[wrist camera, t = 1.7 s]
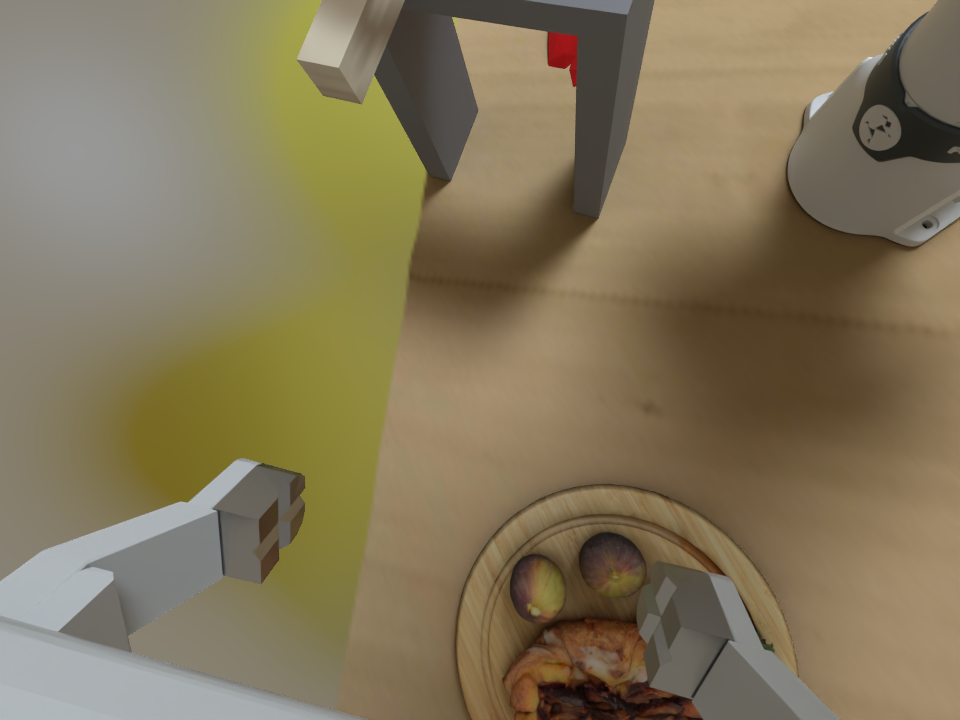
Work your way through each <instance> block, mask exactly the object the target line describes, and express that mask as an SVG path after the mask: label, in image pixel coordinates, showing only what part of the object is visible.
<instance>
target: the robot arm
mask: <svg viewBox="0 0 960 720" xmlns="http://www.w3.org/2000/svg"><path fill="white" fill-rule="evenodd" d="M788 180H789V184H790V187H791V190H792V192H793V194H794V196H795V198H796V200H797V201H798V203H799V204H800V205H801V207H802V208H803V209H804V210H805V211H806V212H807V213H808V214H809V215H811V216H812V217H813V218H815V219H816V220H818V221H819V222H821V223H823V224H824V225H826V226H829V227H831V228H833V229H836V230H839V231H843V232H847V233H852V234H861V235H875V236H882V237H885V238H887V239H889V240H892V241H894V242H896V243H899V244H902V245H905V246H911V247H913V246H918V245H921V244H922V243H924V242H925V241H927V240H928V239H930V238H931V237H932V236H934V235H935V234H937V233H938V232H939V231H941V230H942V229H944V228H945V227H946V226H948V225H949V224H951V223H952V222H954V221H955V220H956V219H958V218H959V217H960V0H938V1H937V2H936V4H935V5H934V6H933V7H932V9H931V10H930V11H928V12H927V13H925V14H924V15H922V16H921V17H919V18H918V19H917V20H916V21H915V22H913V23H912V24H911V25H910V26H909V27H908V28H907V30H905V31H904V32H903V33H902V34H901V35H900V36H898V37H897V39H896V40H895V41H894V42H893V43H892V44H891V45H890V46H889V48H888V49H887V50H886V51H885V53H883V54H880V55H878V56H875V57H873V58H872V57H868V58H867V59H865V60H864V61H862V62H861V63H860V64H859V65H858V66H857V67H856V68H855V70H854V71H853V72H852V73H851V74H850V75H849V76H848V77H847V78H846V79H845V80H844V81H843V83H842V84H841V85H840V86H839V87H838V88H837V89H836V90H835V91H832V92H829V93H826V94H823V95H820V96H817V97H816V98H814V99H813V100H812V101H811V102H810V103H809V104H808V106H807V107H806V110H805V115H804V128H803V131H802V133H801V135H800V136H799V138H798V140H797V141H796V143H795V145H794V147H793V149H792V151H791V154H790V157H789V162H788ZM922 224H925V225H926V226H927V229H926V228H924V227H923V226H922ZM304 489H305V476H303V475H302V474H301V473H297V472H293V471H289V470H286V469H282V468H278V467H275V466H271V465H267V464H264V463H262V464H261V463H258V462H254V461H251V460H247V459H244V458H242V459H238V460H236V461H234V462H233V463H232V464H231V465H230V466H229V467H228V468H226V469H225V470H224V471H223V472H222V473H221V474H220V475H218V476H217V477H216V478H215V479H214V480H213V481H212V482H211V483H210V484H208V485H207V486H206V487H205V488H204V489H203V490H202V491H201V492H199V493H198V494H197V495H196V496H195V497H194V498H193V499H192V500H190V501H189V502H188V503H184V502H178V503H176V504H173V505H170V506H167V507H164V508H162V509H159V510H156V511H153V512H150V513H147V514H145V515H142V516H139V517H136V518H133V519H131V520H128V521H125V522H122V523H119V524H116V525H114V526H111V527H108V528H105V529H102V530H99V531H97V532H94V533H91V534H88V535H86V536H83V537H80V538H77V539H74V540H71V541H68V542H66V543H63V544H60V545H57V546H54V547H51V548H49V549H46V550H43V551H41V552H40V553H39V554H37V555H36V556H35V557H33V558H32V559H30V560H29V561H28V562H26V563H25V564H24V565H22V566H21V567H19V568H18V569H17V570H15V571H14V572H13V573H11V574H10V575H9V576H7V577H6V578H5V579H3V580H2V581H0V720H369V719H366V718H362V717H359V716H355V715H352V714H348V713H344V712H341V711H337V710H334V709H330V708H327V707H323V706H319V705H316V704H312V703H309V702H305V701H302V700H298V699H295V698H291V697H288V696H284V695H280V694H277V693H273V692H270V691H266V690H263V689H259V688H255V687H252V686H248V685H245V684H241V683H238V682H234V681H231V680H227V679H224V678H220V677H216V676H213V675H209V674H206V673H202V672H199V671H195V670H192V669H188V668H185V667H181V666H177V665H174V664H170V663H166V662H163V661H159V660H156V659H153V658H149V657H146V656H142V655H138V654H135V653H132V651H131V647H130V643H129V638H128V636H129V635H130V634H132V633H133V632H135V631H137V630H138V629H140V628H142V627H143V626H145V625H146V624H148V623H150V622H152V621H153V620H155V619H156V618H158V617H160V616H161V615H163V614H165V613H166V612H168V611H170V610H171V609H173V608H174V607H176V606H178V605H179V604H181V603H182V602H184V601H186V600H188V599H189V598H191V597H192V596H194V595H196V594H197V593H199V592H201V591H202V590H204V589H206V588H207V587H209V586H210V585H212V584H214V583H215V582H217V581H219V580H220V579H222V578H223V575H224V576H228V577H232V578H236V579H241V580H245V581H250V582H254V583H258V584H262V582H263V581H264V580H265V578H266V577H267V576H268V574H269V573H270V571H271V570H272V569H273V567H274V566H275V564H276V563H277V562H278V560H279V549H281V548H283V547H285V546H287V545H289V544H290V543H291V542H292V540H293V539H294V537H295V536H296V535H297V533H298V531H299V528H300V526H301V524H302V521H303V517H304V512H305V502H304V501H303V499H302V498H301V496H300V494H301V493H302V491H303V490H304ZM649 574H650V578H651V583H649V584H647V585H646V586H644V587H643V588H642V590H641V593H640V595H639V598H638V604H637V611H636V612H637V625H638V631H639V634H640V635H641V637H642V638H643V639H644V640H645V642H646V643H647V646H646V648H645V651H644V653H643V657H644V662H645V667H646V672H647V677H648V682H649V687H652V688H655V689H659V690H662V691H665V692H669V693H672V694H676V695H679V696H682V697H686V698H689V699H693V700H692V701H691V702H692V703H693V705H694V706H695V708H696V709H697V711H698V712H699V714H700V715H701V717H702V718H703V720H840V719H839V718H838V717H837V716H836V715H835V714H834V713H833V712H832V711H831V710H830V709H829V708H828V707H827V706H826V705H825V704H824V703H823V702H822V701H821V700H820V699H819V698H818V697H817V696H816V695H815V694H814V693H813V692H812V691H811V690H810V689H809V688H808V687H807V686H806V685H805V684H804V683H803V682H802V681H801V680H800V679H799V678H798V677H797V676H796V675H795V674H794V673H793V672H792V671H791V670H790V669H789V668H788V667H787V666H786V665H785V664H784V663H783V662H782V661H781V660H780V659H779V658H778V657H777V656H776V655H775V654H774V653H773V652H772V651H768V650H764V648H763V646H762V644H761V642H760V639H759V637H758V635H757V633H756V631H755V629H754V626H753V624H752V622H751V620H750V618H749V615H748V613H747V611H746V609H745V607H744V605H743V602H742V600H741V598H740V596H739V594H738V591H737V589H736V587H735V585H734V583H733V581H732V580H731V579H730V578H729V577H727V576H723V575H719V574H714V573H710V572H705V571H704V572H703V571H700V570H696V569H692V568H687V567H683V566H679V565H675V564H670V563H666V562H662V561H658V560H657V561H656V562H655V563H654V564H653V566H652V568H651V570H650V572H649Z"/></svg>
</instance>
